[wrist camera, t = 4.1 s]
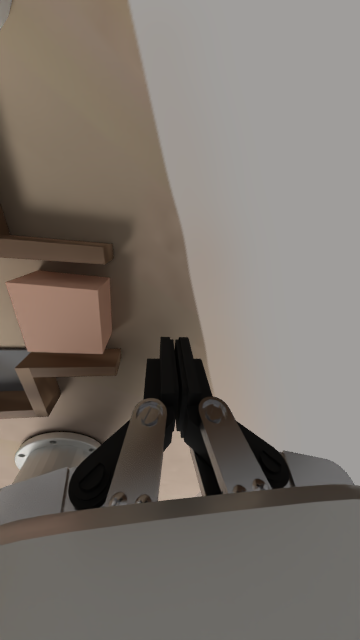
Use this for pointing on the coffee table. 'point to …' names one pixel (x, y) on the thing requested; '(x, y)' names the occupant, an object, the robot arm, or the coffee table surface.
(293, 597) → the robot arm
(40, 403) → the box
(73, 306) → the terracotta block
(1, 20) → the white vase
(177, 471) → the coffee table surface
